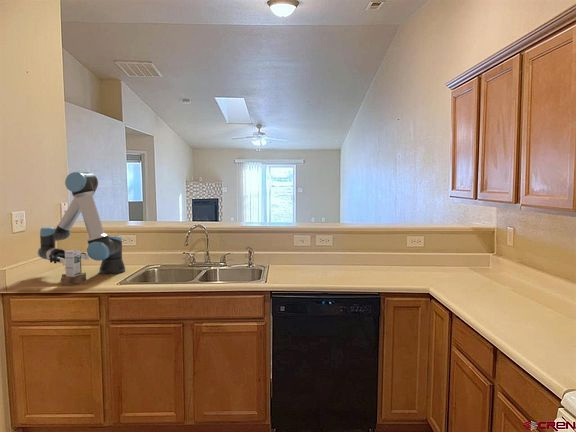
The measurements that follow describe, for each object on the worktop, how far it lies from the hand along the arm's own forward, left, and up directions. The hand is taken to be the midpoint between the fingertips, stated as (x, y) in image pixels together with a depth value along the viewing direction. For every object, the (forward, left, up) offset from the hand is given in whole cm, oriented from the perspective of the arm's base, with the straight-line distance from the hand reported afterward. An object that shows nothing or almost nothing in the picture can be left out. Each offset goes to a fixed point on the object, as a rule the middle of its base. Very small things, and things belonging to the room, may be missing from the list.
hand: (76, 259), depth 216 cm
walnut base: (+1, -3, -14) cm, 14 cm away
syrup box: (+2, -3, -10) cm, 10 cm away
